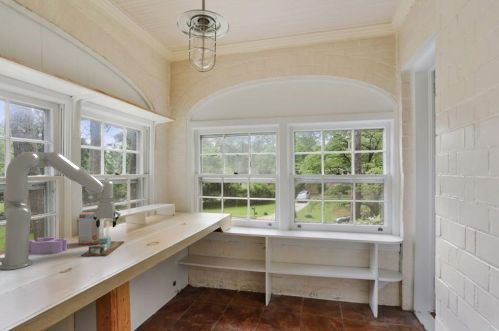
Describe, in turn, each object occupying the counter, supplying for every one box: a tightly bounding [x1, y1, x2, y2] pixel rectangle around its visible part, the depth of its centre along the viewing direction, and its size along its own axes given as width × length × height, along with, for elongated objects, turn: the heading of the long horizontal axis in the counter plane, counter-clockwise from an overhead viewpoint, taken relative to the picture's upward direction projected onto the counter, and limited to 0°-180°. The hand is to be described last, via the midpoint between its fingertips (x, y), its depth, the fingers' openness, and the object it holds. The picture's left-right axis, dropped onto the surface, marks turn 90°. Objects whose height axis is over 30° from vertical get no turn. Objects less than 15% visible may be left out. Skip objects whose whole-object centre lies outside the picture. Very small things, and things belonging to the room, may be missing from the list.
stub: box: [99, 236, 112, 248], centre depth 168 cm, size 5×5×6 cm
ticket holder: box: [81, 240, 125, 257], centre depth 168 cm, size 14×28×5 cm, turn 6°
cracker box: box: [77, 211, 105, 245], centre depth 179 cm, size 14×6×21 cm, turn 90°
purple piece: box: [29, 236, 68, 255], centre depth 161 cm, size 20×12×7 cm, turn 88°
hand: (106, 226), depth 168 cm, fingers open, 9 cm apart
